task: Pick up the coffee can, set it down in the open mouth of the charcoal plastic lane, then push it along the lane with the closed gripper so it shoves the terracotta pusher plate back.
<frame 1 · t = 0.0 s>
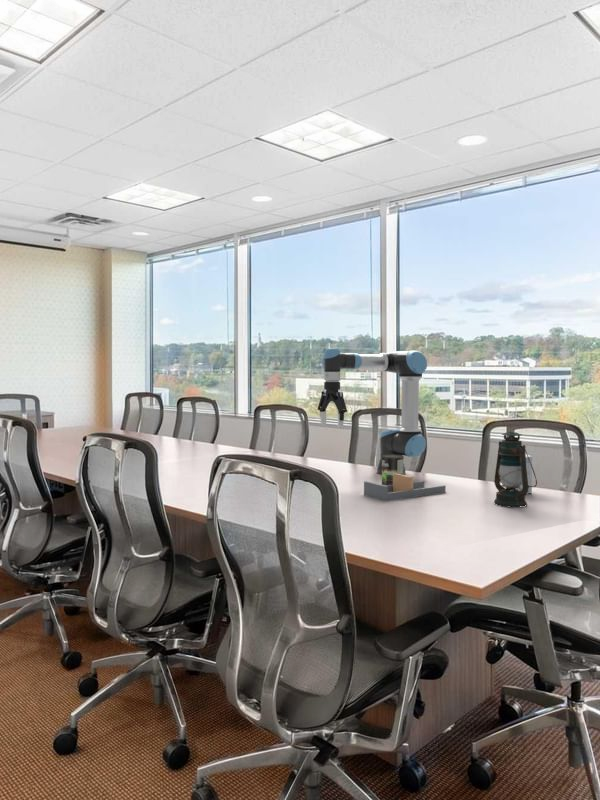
hand: (331, 426, 290), 28 cm above the table, tool pointing down, fingers open, 13 cm apart
lantern: (511, 504, 253), on the table
pusher: (402, 484, 272), point 4 cm above the table, slide at 0.0 cm
coffee can: (392, 486, 293), on the table
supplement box: (518, 492, 279), on the table
lane: (406, 493, 274), on the table
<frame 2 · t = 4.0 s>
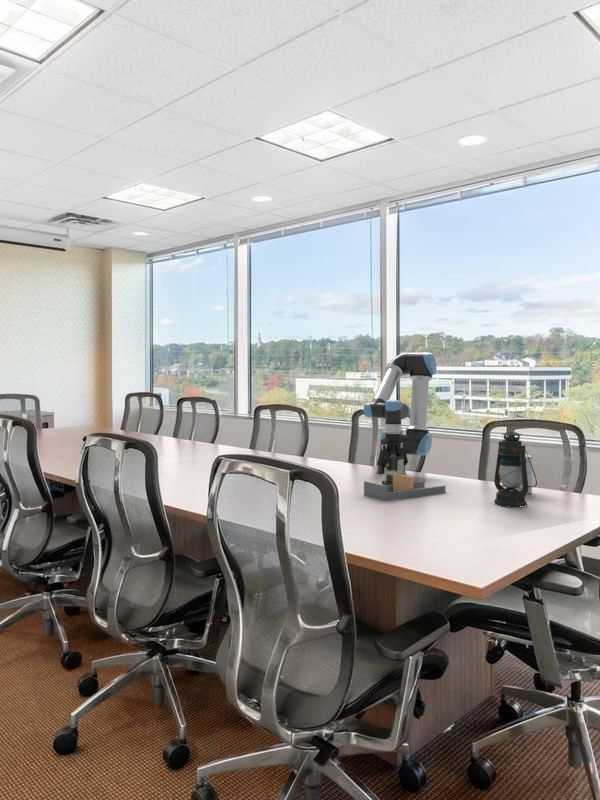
hand: (392, 479, 293), 3 cm above the table, tool pointing down, fingers closed on coffee can, 10 cm apart
coffee can: (392, 485, 293), on the table, touching gripper
everything else where it was.
when the fingers open (4 cm above the table, at t = 12.3 s): coffee can drops 1 cm, on the table.
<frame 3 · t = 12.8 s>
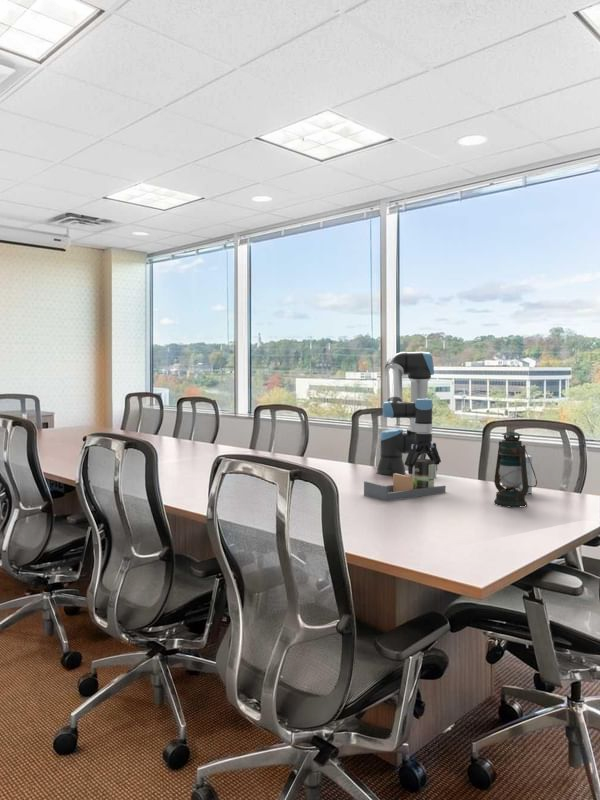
hand: (422, 479, 279), 5 cm above the table, tool pointing down, fingers open, 13 cm apart
coffee can: (422, 491, 279), on the table
everything else where it was.
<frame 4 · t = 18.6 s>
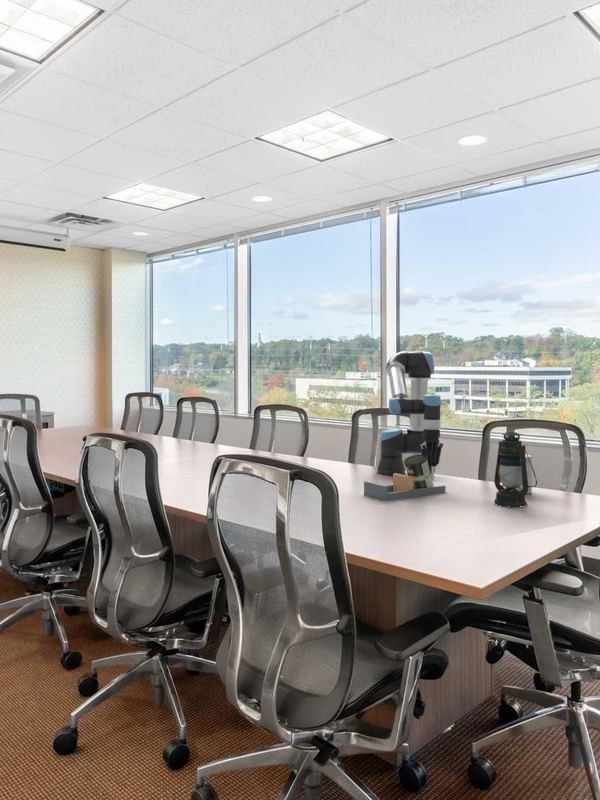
hand: (430, 480, 281), 5 cm above the table, tool pointing down, fingers closed
coffee can: (422, 487, 279), point 2 cm above the table, touching gripper, hand
everything else where it was.
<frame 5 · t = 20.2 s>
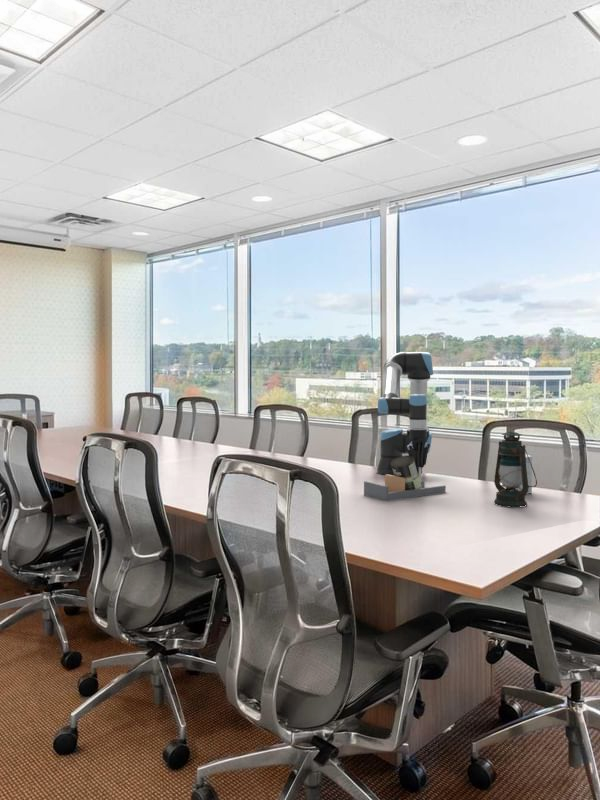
hand: (418, 481, 277), 5 cm above the table, tool pointing down, fingers closed
pusher: (394, 485, 270), point 4 cm above the table, slide at 4.8 cm
coffee can: (410, 489, 274), point 2 cm above the table, touching gripper, hand
everything else where it was.
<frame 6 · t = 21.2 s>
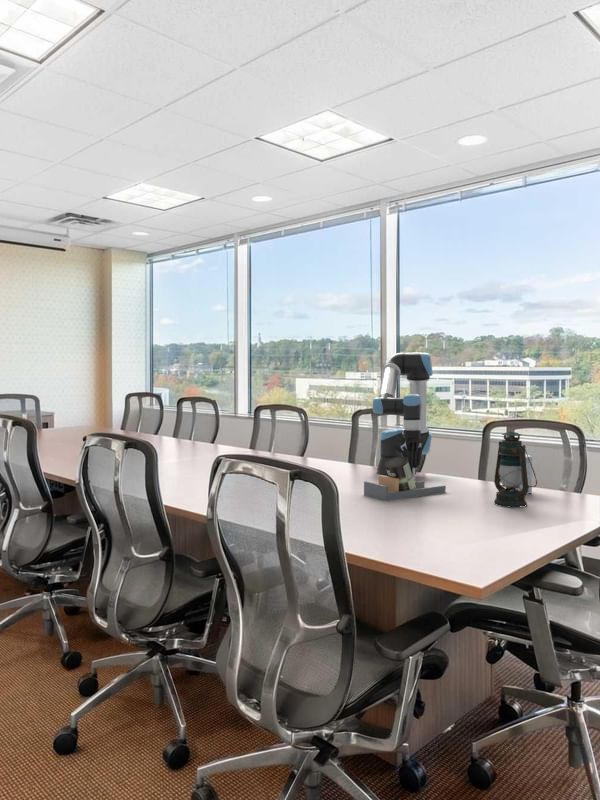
hand: (412, 482, 275), 5 cm above the table, tool pointing down, fingers closed
pusher: (388, 486, 268), point 4 cm above the table, slide at 8.4 cm
coffee can: (404, 490, 272), point 2 cm above the table, touching gripper, hand
everything else where it was.
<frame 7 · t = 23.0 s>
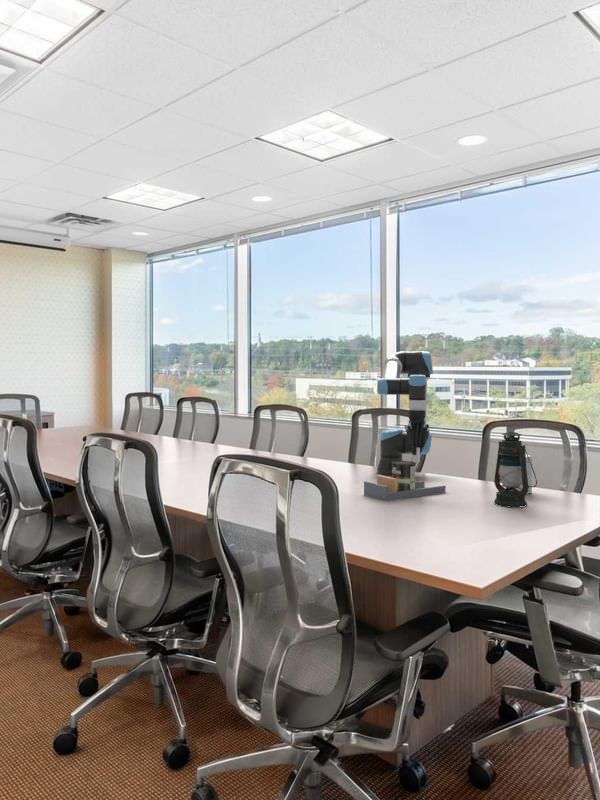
hand: (416, 461, 277), 14 cm above the table, tool pointing down, fingers closed
pusher: (386, 486, 267), point 4 cm above the table, slide at 9.3 cm
coffee can: (403, 494, 272), on the table
everything else where it was.
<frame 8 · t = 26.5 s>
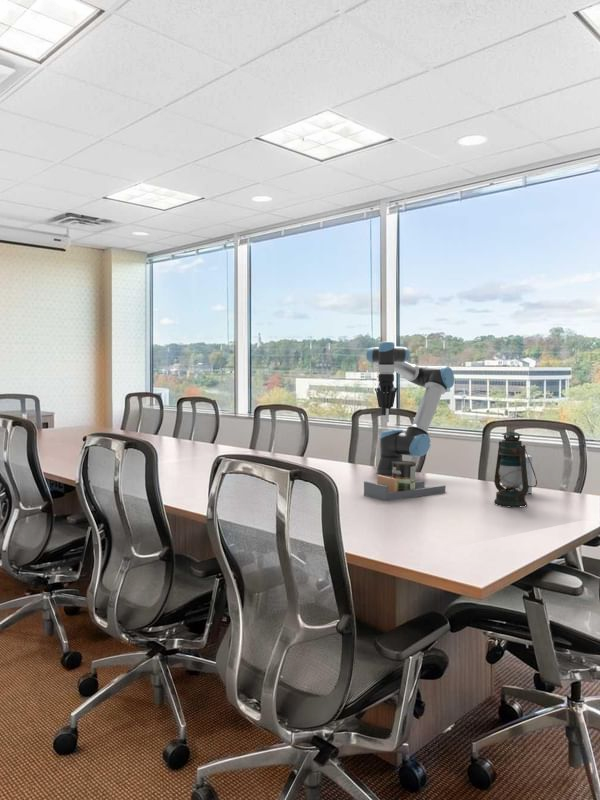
hand: (385, 421, 302), 29 cm above the table, tool pointing down, fingers closed
nothing on the table moved.
at the end: coffee can inside the target area on the lane (0.4 cm from its centre), point 0.0 cm above the lane's base; coffee can tilted 0°; pusher slide at 9.3 cm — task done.
